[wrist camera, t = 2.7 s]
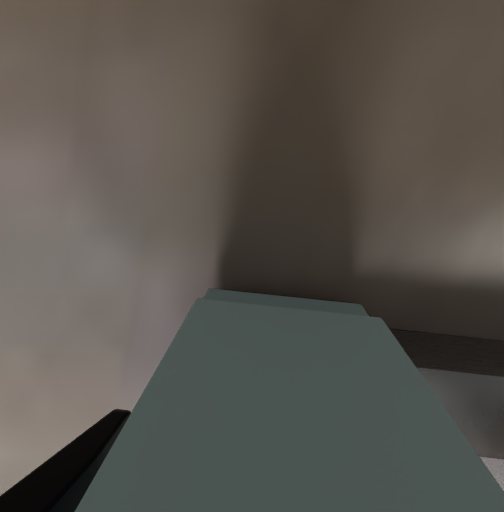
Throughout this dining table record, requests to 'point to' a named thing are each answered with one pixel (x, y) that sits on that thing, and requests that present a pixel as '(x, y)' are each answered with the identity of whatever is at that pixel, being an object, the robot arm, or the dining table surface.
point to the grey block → (289, 420)
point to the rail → (464, 383)
